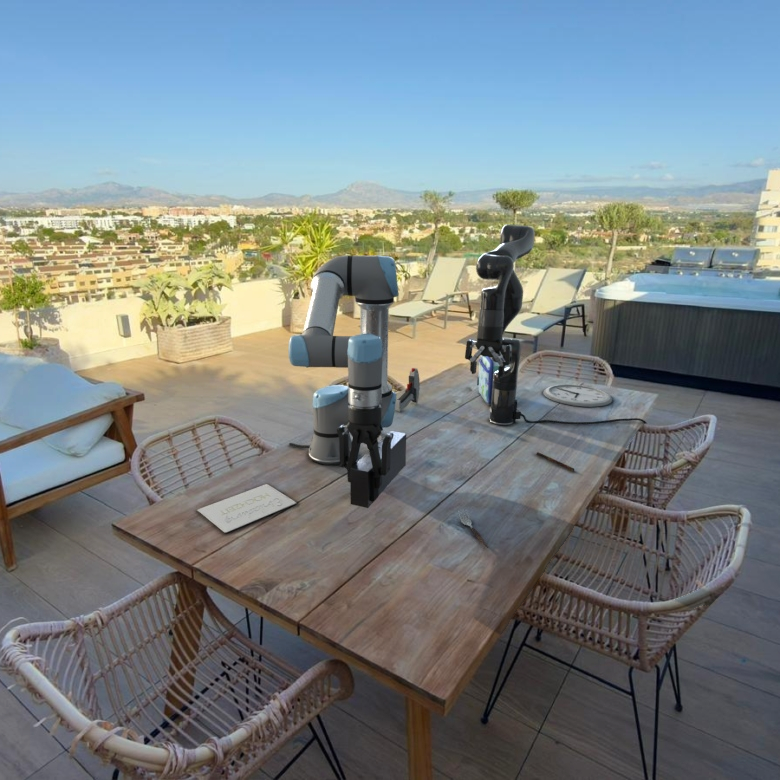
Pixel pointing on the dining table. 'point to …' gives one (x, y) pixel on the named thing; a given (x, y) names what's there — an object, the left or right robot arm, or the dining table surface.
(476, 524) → the dining table surface
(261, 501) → the invitation card
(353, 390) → the left robot arm
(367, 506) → the bar
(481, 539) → the fork
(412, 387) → the toy gun
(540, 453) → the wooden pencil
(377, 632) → the dining table surface
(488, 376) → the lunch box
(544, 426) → the dining table surface
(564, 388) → the wall clock
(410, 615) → the dining table surface
